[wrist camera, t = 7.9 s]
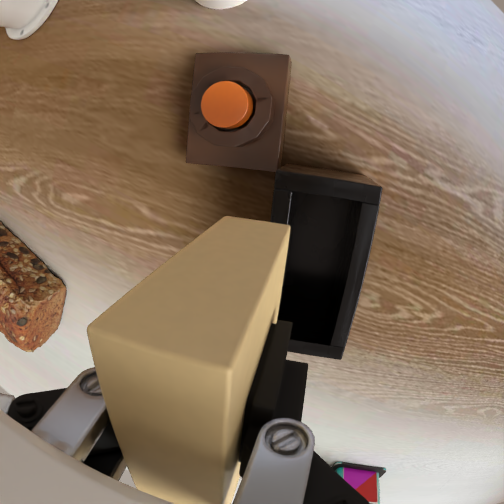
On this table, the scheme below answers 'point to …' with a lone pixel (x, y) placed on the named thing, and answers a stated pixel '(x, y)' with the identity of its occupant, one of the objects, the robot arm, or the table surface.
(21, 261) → the bread
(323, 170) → the toaster
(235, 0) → the cylindrical container
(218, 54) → the control block
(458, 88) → the table surface
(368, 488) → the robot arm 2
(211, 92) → the button
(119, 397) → the toast
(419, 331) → the table surface
